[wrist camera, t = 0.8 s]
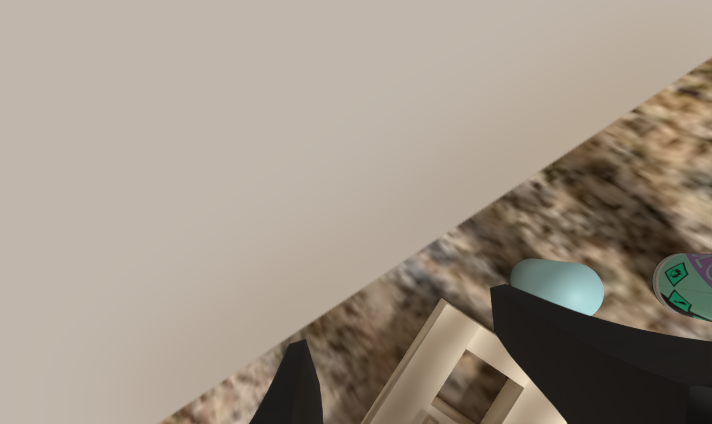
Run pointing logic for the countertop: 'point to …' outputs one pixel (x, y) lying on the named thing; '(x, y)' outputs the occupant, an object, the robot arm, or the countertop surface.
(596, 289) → the teal peg
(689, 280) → the spray can
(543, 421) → the dock plate
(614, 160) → the countertop surface
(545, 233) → the countertop surface
